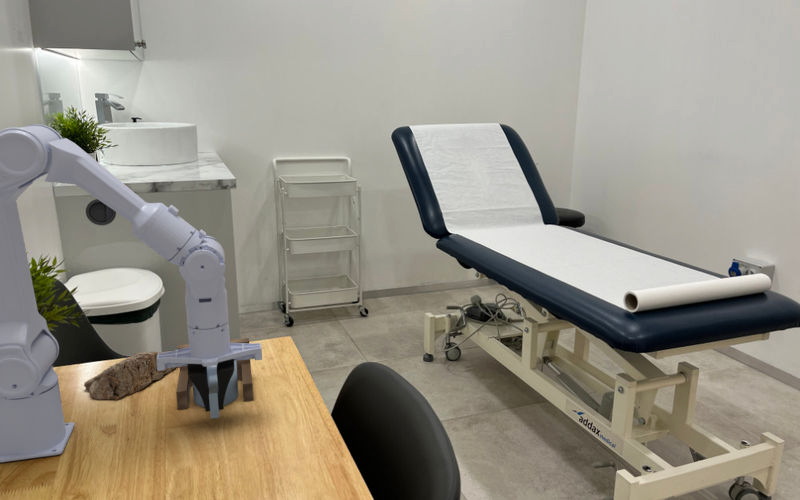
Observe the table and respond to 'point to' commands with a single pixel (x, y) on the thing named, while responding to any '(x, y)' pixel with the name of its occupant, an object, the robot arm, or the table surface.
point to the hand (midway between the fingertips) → (214, 407)
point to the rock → (126, 376)
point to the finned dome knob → (213, 390)
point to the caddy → (242, 374)
